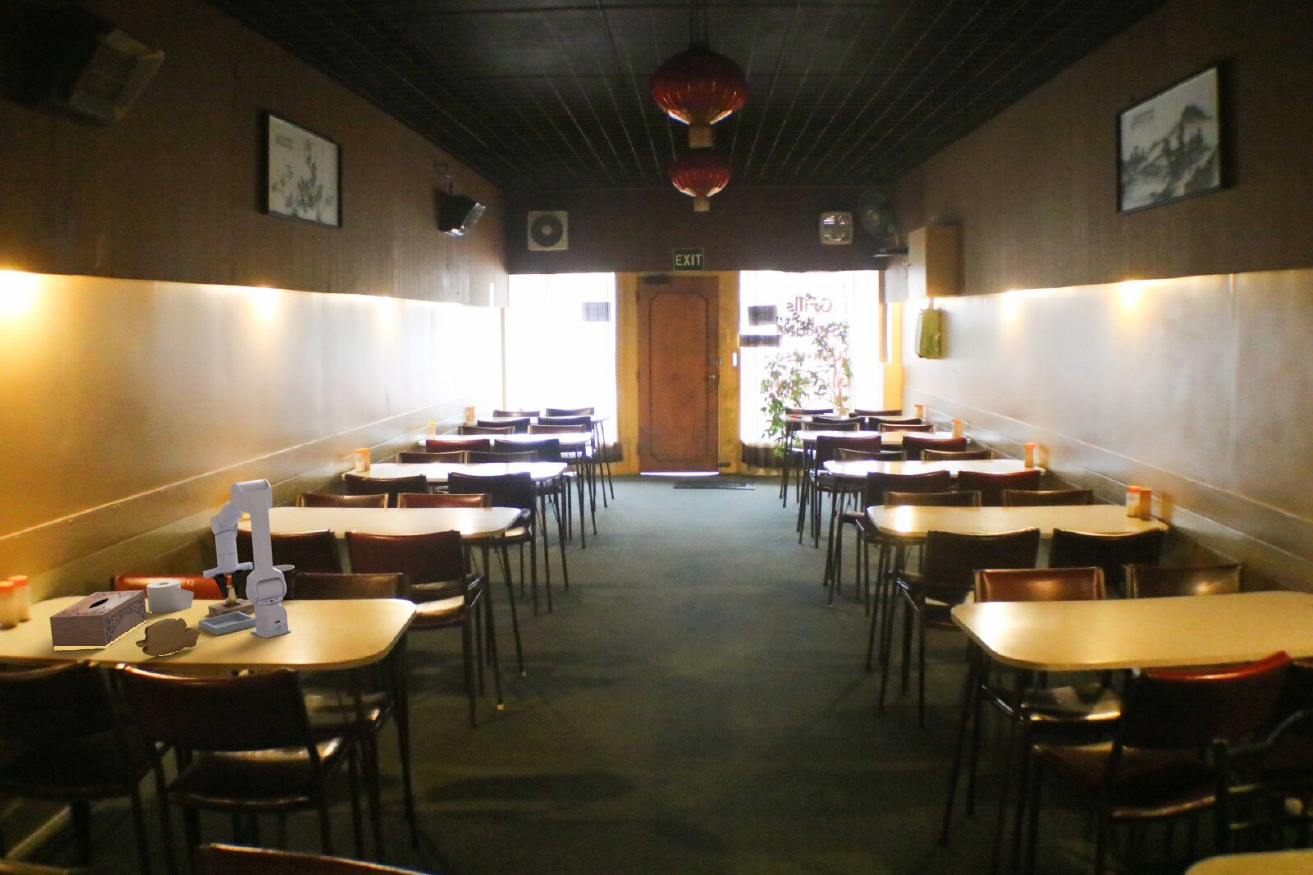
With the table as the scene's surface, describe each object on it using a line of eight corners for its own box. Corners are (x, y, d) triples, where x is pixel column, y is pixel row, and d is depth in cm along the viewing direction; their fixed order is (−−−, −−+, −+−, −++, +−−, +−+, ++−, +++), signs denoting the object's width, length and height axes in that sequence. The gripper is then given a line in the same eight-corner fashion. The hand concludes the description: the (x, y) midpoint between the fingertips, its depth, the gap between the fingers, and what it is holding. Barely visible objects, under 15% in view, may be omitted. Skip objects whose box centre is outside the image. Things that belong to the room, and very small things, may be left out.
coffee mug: (262, 600, 338) (260, 570, 337) (283, 593, 345) (281, 564, 344) (289, 604, 332) (286, 573, 331) (309, 597, 340) (307, 567, 339)
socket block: (255, 613, 323) (254, 604, 323) (223, 621, 316) (222, 611, 316) (241, 607, 330) (240, 598, 330) (209, 615, 323) (208, 605, 323)
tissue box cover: (106, 649, 294) (102, 614, 292) (53, 652, 293) (49, 617, 292) (147, 622, 319) (144, 590, 318) (99, 624, 319) (95, 592, 318)
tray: (257, 626, 309) (256, 618, 309) (216, 636, 301) (215, 628, 301) (239, 619, 318) (238, 611, 317) (199, 629, 309) (198, 620, 309)
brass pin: (238, 608, 323) (236, 586, 322) (229, 610, 321) (227, 588, 320) (234, 606, 325) (232, 584, 324) (224, 609, 323) (222, 586, 322)
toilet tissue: (197, 609, 331) (194, 582, 330) (150, 616, 325) (147, 589, 324) (193, 602, 339) (191, 576, 338) (147, 609, 332) (145, 583, 331)
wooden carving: (194, 644, 294) (191, 610, 293) (202, 647, 291) (199, 612, 290) (134, 661, 282) (130, 624, 281) (141, 664, 279) (138, 627, 278)
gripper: (244, 546, 329) (247, 589, 331) (197, 555, 319) (201, 599, 320) (254, 549, 324) (258, 592, 326) (207, 559, 314) (211, 603, 315)
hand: (230, 596), depth 323 cm, fingers closed on brass pin, 3 cm apart
